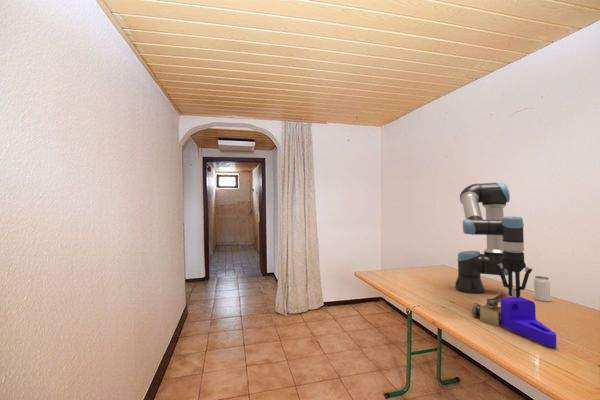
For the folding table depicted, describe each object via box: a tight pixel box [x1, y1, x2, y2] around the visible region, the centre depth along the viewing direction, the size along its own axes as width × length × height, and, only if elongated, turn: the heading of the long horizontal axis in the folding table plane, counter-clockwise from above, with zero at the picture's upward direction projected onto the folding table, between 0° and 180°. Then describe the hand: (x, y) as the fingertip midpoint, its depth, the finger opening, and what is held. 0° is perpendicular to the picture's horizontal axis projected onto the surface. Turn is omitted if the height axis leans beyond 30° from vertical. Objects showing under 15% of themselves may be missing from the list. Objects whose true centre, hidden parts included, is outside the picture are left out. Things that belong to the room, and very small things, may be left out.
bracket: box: [500, 296, 557, 348], centre depth 106 cm, size 18×11×12 cm, turn 1°
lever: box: [486, 293, 508, 307], centre depth 123 cm, size 15×4×2 cm, turn 124°
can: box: [533, 275, 551, 303], centre depth 146 cm, size 6×6×12 cm
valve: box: [471, 302, 502, 327], centre depth 120 cm, size 14×7×7 cm, turn 34°
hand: (514, 303), depth 120 cm, fingers closed
